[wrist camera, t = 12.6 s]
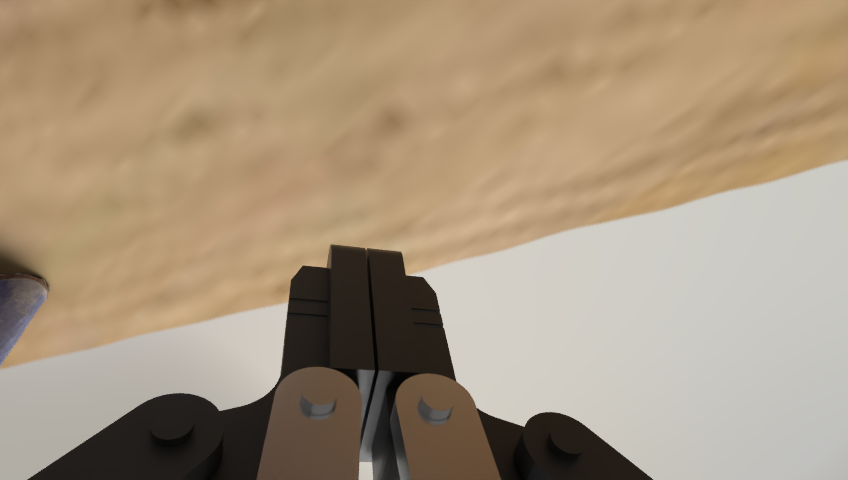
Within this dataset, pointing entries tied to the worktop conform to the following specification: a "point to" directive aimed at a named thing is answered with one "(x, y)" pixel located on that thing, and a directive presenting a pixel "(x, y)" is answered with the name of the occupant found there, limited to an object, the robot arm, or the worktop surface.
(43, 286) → the flask
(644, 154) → the worktop surface
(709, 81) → the worktop surface
